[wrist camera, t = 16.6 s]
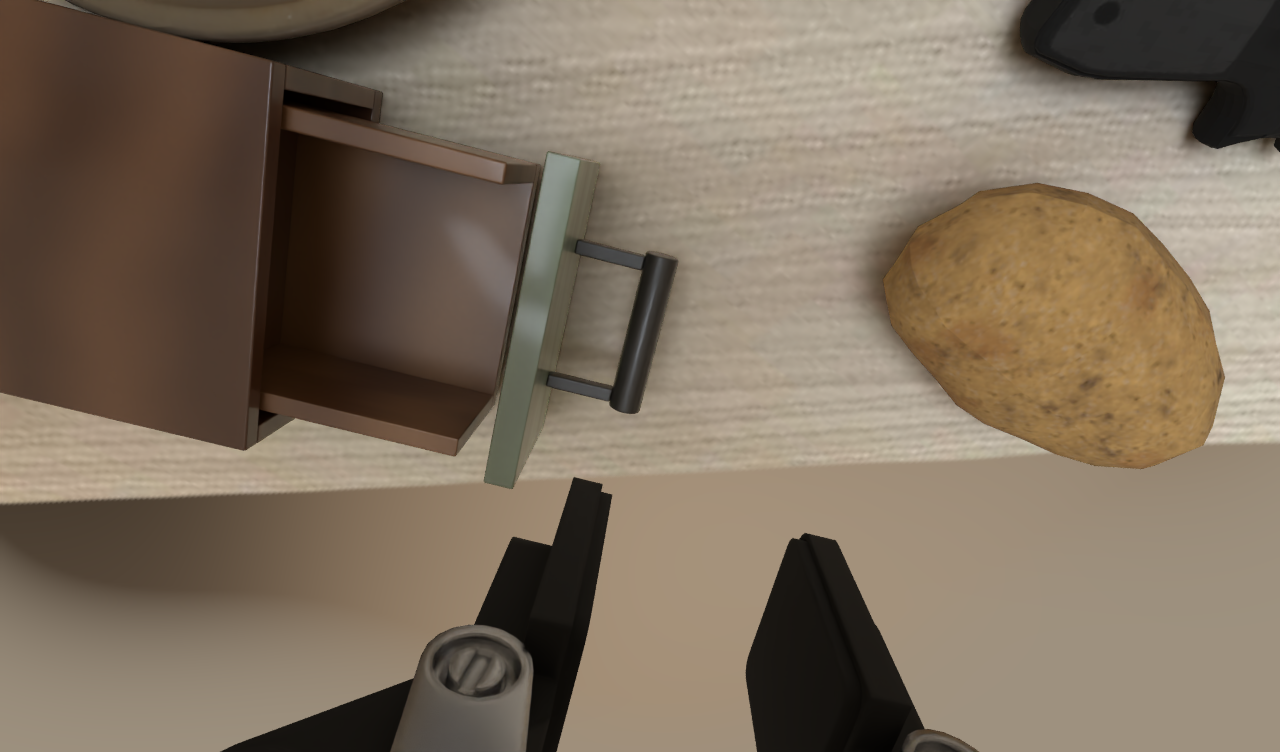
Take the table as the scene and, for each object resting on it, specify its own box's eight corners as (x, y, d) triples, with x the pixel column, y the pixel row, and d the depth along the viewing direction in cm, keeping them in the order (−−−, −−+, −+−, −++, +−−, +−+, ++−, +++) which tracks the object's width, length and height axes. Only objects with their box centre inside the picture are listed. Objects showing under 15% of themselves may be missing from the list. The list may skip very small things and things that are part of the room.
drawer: (695, 186, 29) (702, 190, 23) (627, 448, 33) (617, 514, 27) (298, 85, 29) (189, 59, 22) (274, 362, 33) (176, 409, 26)
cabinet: (383, 92, 30) (273, 60, 21) (348, 384, 34) (245, 451, 25) (56, 8, 29) (-185, -58, 21) (61, 314, 33) (-139, 360, 25)
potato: (1071, 412, 34) (1065, 537, 29) (860, 243, 33) (816, 342, 28) (1299, 310, 26) (1344, 455, 21) (1034, 85, 25) (1016, 183, 20)
